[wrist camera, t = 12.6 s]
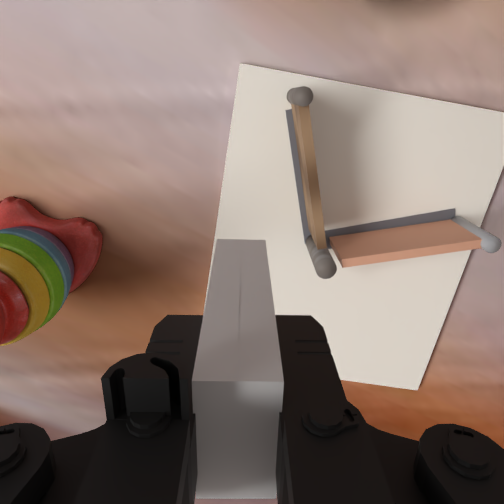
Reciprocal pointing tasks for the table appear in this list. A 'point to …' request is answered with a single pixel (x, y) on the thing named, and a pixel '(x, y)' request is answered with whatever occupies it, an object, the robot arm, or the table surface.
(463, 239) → the fence panel
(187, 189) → the table surface
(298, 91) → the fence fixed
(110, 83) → the table surface
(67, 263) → the stacking bear
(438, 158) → the board
